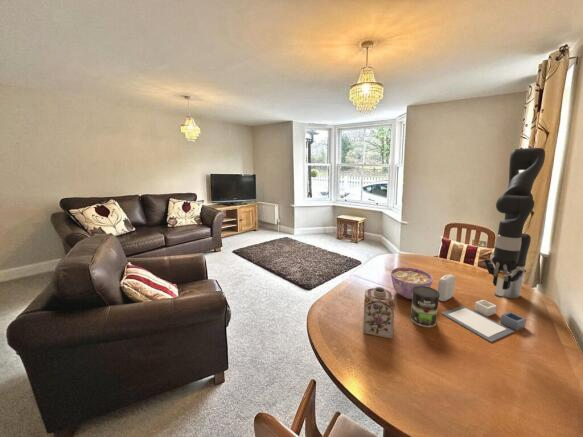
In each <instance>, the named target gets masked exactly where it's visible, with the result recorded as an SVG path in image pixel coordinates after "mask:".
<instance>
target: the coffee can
mask: <svg viewBox="0 0 583 437" xmlns="http://www.w3.org/2000/svg"><path fill="white" fill-rule="evenodd" d="M439 296H440V294H439V292H438V289H435V288H433V287H431V286H430V287H426V286H416V287H414V288H413V297H412V299H411V300H412V301H411V309H410V321H412V322H413V323H414V324H416V325H417V326H421V327H423V328H433V327H435V326H436V325H437V317H438V311H439V310H438V308H439V302H440V300H439Z"/></svg>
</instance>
